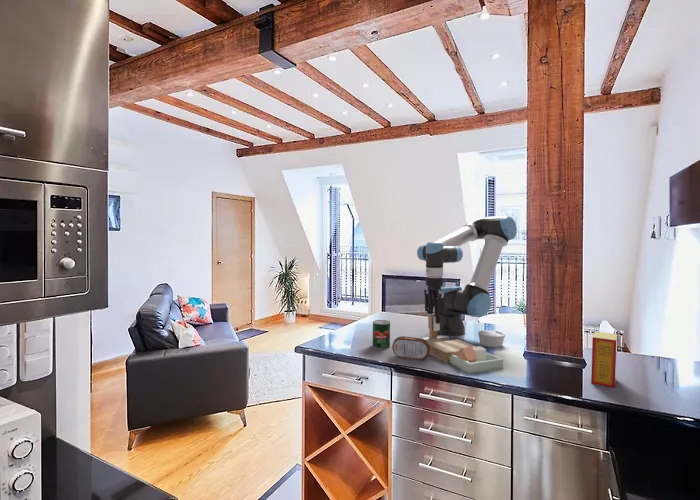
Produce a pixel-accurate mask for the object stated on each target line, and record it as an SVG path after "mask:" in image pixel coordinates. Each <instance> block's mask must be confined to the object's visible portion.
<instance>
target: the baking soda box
mask: <svg viewBox="0 0 700 500" xmlns="http://www.w3.org/2000/svg"><path fill="white" fill-rule="evenodd" d="M591 341H592V343H591V345H592V347H591V376H590V379H591V382H590V384H593V385H597V386H603V387H608V388H613V389H616V378H617V373H616V372H617V347H618V346H617V344H618V343H617V342H618V334H616V333H608V332H599V331H594V332H593V335H592V340H591Z"/></svg>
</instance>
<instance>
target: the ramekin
mask: <svg viewBox="0 0 700 500" xmlns="http://www.w3.org/2000/svg"><path fill="white" fill-rule="evenodd" d="M477 334H478V339H479V343H480V344H481V345H482V346H484V347H488V348H500V347H503V344H504V340H505V337H506V334H505V333H503V332H501V331H497V330H489V329H484V330H479V331H478V333H477Z"/></svg>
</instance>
